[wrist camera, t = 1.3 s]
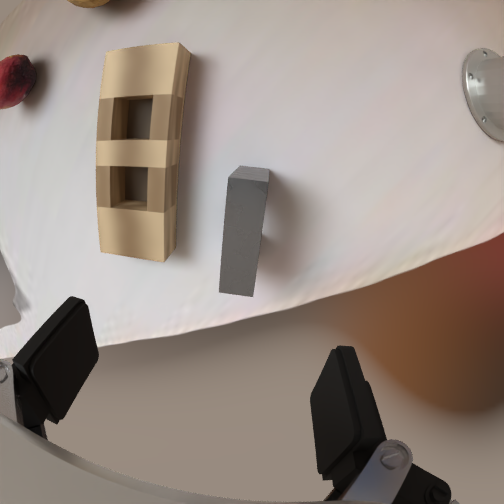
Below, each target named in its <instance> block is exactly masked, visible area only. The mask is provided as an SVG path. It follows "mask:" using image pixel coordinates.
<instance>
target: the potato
mask: <svg viewBox="0 0 504 504" xmlns="http://www.w3.org/2000/svg"><path fill="white" fill-rule="evenodd" d="M67 1H69V2H71V3H72V4H74V5H76V6H79V7H83V8H95V7H98V6H101V5H104V4H105V3H107V2H108V1H110V0H67Z"/></svg>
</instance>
